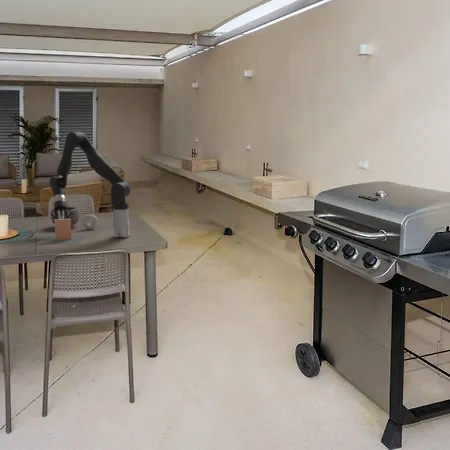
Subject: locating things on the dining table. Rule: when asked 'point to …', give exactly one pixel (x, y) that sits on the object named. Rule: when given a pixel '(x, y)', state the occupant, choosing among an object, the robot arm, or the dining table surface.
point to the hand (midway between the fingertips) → (62, 226)
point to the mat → (74, 241)
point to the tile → (62, 229)
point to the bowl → (73, 218)
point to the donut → (89, 217)
